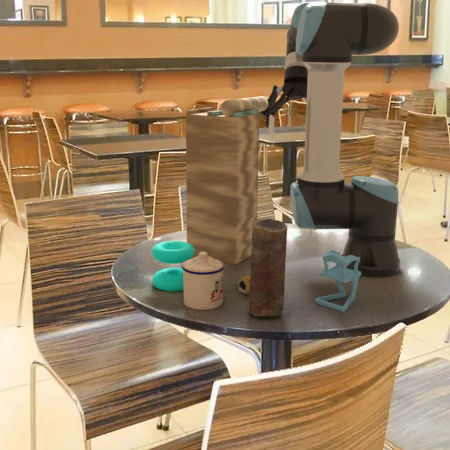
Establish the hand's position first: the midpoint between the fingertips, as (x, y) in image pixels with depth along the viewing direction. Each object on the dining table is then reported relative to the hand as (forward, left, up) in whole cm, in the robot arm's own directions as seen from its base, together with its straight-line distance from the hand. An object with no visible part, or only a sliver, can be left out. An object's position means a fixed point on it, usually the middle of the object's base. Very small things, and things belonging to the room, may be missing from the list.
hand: (293, 135), depth 189 cm
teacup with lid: (-34, +47, -31) cm, 65 cm away
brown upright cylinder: (-47, +39, -31) cm, 68 cm away
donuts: (-22, +49, -31) cm, 62 cm away
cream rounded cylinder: (-7, +21, +8) cm, 24 cm away
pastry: (-34, +33, -31) cm, 56 cm away
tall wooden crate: (-6, +27, -30) cm, 41 cm away
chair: (-49, +21, -31) cm, 61 cm away
